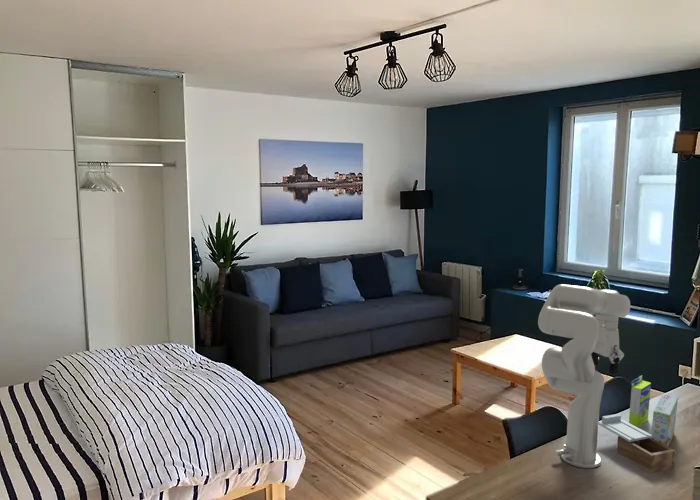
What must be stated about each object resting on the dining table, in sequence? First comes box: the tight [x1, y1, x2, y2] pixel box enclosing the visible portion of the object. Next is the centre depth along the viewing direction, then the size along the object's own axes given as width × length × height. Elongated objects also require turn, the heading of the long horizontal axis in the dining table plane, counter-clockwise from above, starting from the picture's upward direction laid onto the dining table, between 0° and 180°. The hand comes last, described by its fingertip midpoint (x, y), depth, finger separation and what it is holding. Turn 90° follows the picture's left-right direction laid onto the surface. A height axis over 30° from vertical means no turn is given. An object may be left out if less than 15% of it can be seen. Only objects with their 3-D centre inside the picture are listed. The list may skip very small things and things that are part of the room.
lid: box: [598, 413, 653, 442], centre depth 194 cm, size 10×14×3 cm
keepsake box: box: [616, 435, 676, 474], centre depth 186 cm, size 10×14×6 cm
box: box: [628, 375, 652, 428], centre depth 214 cm, size 10×4×17 cm, turn 132°
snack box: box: [650, 393, 679, 448], centre depth 198 cm, size 21×6×15 cm, turn 143°
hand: (603, 369), depth 204 cm, fingers open, 9 cm apart
